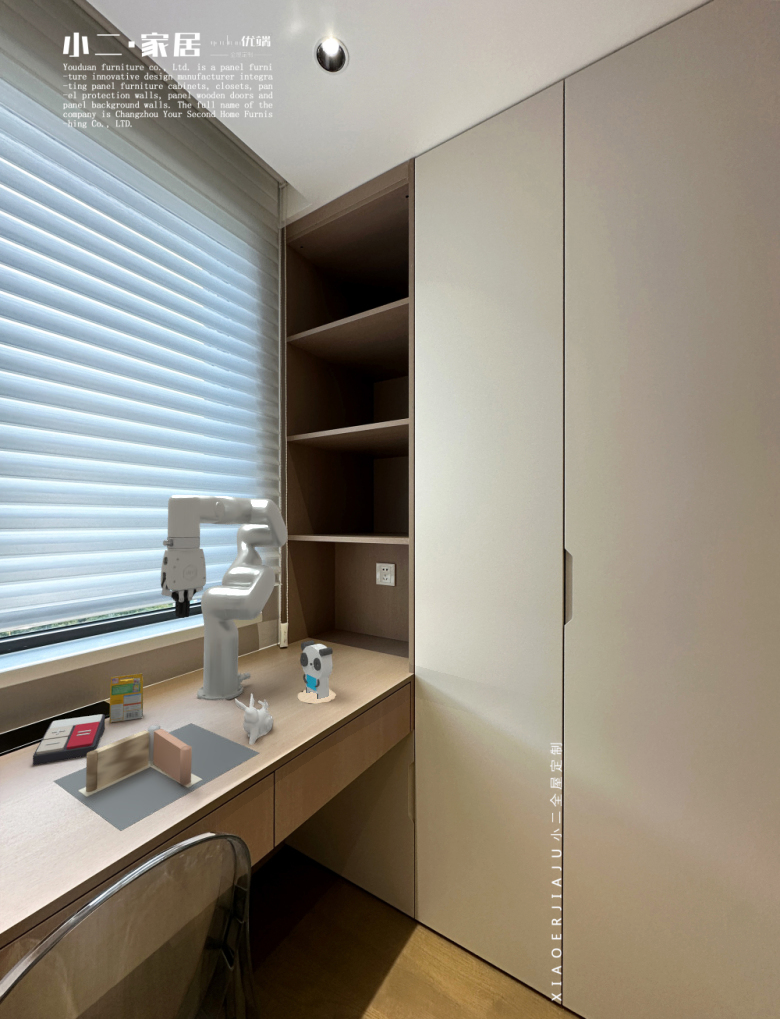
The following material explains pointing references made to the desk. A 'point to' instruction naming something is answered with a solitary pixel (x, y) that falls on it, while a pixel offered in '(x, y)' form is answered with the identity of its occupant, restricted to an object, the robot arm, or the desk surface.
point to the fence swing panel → (170, 754)
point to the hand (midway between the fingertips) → (182, 616)
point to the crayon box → (126, 698)
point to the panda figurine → (316, 667)
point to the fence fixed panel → (116, 760)
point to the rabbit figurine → (255, 719)
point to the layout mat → (158, 779)
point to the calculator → (70, 739)
